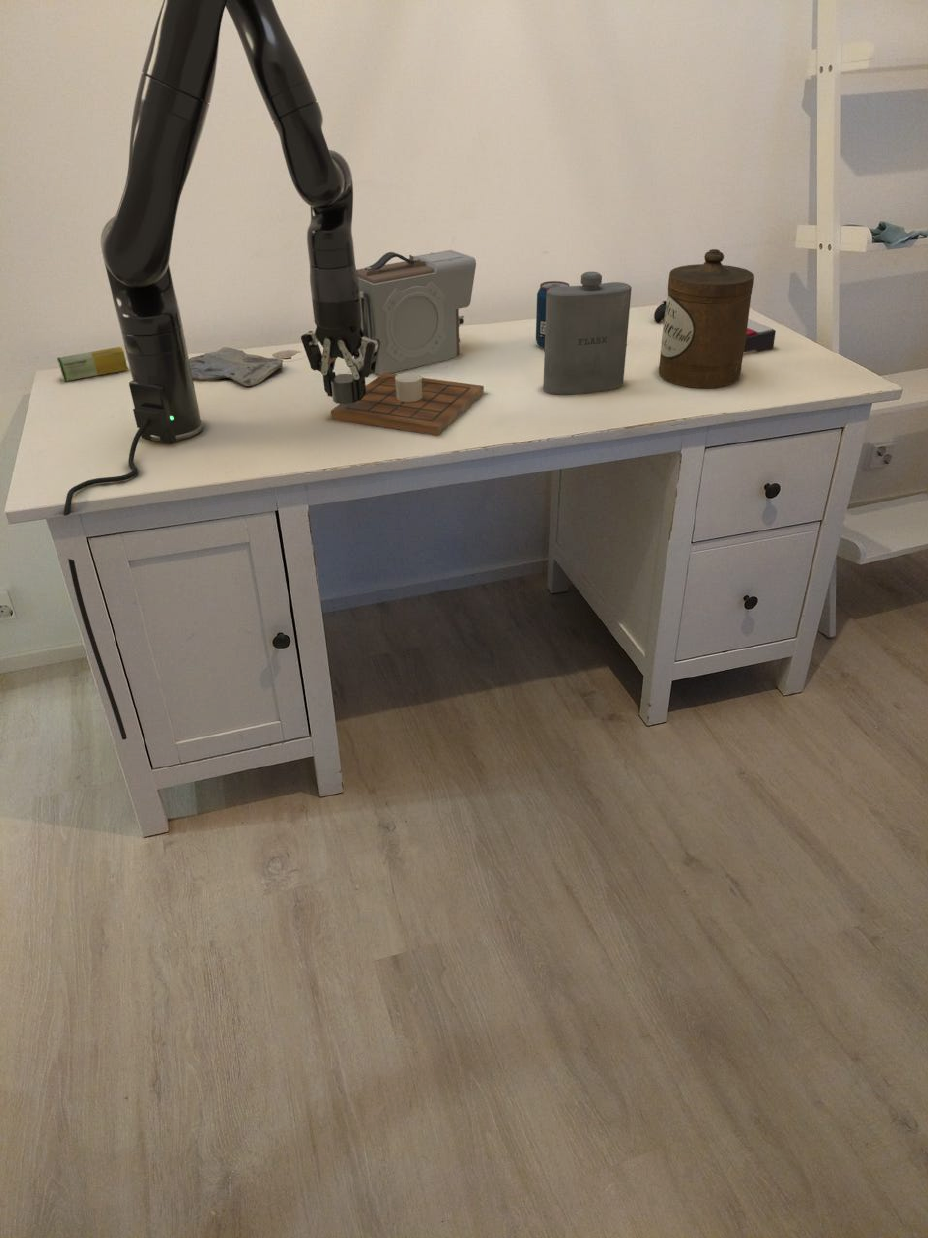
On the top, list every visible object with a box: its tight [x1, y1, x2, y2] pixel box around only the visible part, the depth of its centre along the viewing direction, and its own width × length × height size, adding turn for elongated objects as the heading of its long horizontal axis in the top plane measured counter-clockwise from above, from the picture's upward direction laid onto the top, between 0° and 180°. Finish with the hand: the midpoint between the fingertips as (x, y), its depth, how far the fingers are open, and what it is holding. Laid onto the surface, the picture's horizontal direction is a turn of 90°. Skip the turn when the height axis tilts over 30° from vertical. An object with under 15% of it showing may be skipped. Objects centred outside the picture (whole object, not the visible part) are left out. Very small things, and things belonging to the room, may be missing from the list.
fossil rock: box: [189, 346, 284, 387], centre depth 170 cm, size 18×15×2 cm
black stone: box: [330, 373, 357, 405], centre depth 149 cm, size 5×5×4 cm
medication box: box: [56, 346, 129, 382], centre depth 170 cm, size 12×3×4 cm, turn 118°
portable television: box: [356, 249, 477, 376], centre depth 168 cm, size 12×24×30 cm, turn 124°
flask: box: [542, 271, 633, 396], centre depth 155 cm, size 15×6×20 cm, turn 103°
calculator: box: [744, 318, 777, 354], centre depth 177 cm, size 11×4×15 cm
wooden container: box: [658, 248, 755, 389], centre depth 159 cm, size 15×15×22 cm
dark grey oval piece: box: [653, 300, 667, 323], centre depth 194 cm, size 10×5×6 cm
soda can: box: [535, 280, 570, 350], centre depth 178 cm, size 7×7×12 cm
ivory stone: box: [395, 372, 423, 402], centre depth 154 cm, size 5×5×4 cm
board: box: [330, 373, 485, 436], centre depth 155 cm, size 20×20×2 cm
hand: (345, 396), depth 150 cm, fingers closed on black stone, 4 cm apart
